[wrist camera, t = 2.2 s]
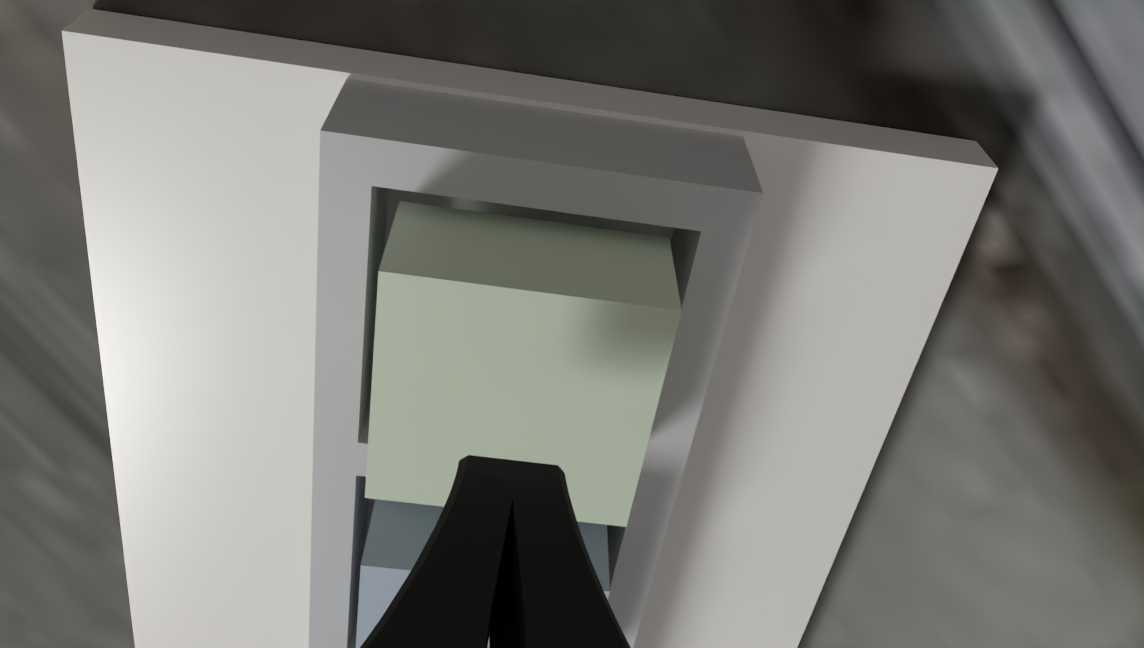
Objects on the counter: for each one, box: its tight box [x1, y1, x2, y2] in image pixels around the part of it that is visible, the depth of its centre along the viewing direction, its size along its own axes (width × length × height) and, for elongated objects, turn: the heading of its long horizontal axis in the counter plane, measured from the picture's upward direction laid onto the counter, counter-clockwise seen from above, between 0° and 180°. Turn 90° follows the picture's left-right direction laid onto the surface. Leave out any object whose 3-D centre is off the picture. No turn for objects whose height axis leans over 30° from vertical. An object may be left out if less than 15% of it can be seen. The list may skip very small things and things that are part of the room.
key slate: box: [356, 499, 610, 648], centre depth 20 cm, size 4×4×2 cm
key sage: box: [365, 201, 682, 527], centre depth 17 cm, size 4×4×2 cm
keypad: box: [62, 9, 999, 648], centre depth 24 cm, size 16×25×3 cm, turn 171°
